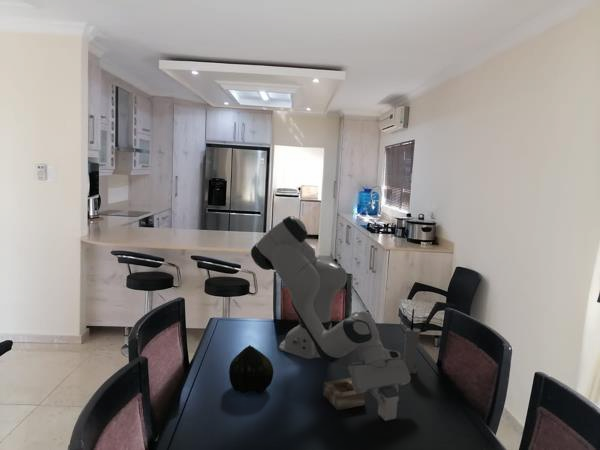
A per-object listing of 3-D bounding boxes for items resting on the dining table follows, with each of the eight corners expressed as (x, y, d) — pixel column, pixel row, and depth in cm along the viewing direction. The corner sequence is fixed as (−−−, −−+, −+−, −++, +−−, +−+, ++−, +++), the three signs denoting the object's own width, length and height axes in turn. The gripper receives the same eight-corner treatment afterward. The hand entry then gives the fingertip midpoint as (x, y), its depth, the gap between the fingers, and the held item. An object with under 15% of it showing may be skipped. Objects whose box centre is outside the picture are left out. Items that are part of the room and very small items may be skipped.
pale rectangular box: (377, 413, 135) (380, 388, 134) (388, 411, 136) (390, 386, 135) (385, 420, 131) (387, 394, 130) (396, 418, 133) (398, 392, 132)
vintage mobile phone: (416, 374, 164) (422, 311, 161) (403, 372, 165) (408, 309, 162) (415, 370, 167) (421, 308, 165) (402, 368, 168) (408, 306, 166)
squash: (259, 391, 134) (271, 345, 142) (216, 383, 138) (230, 339, 146) (271, 403, 145) (281, 359, 153) (231, 396, 149) (243, 354, 158)
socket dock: (323, 394, 144) (324, 382, 144) (348, 390, 148) (349, 378, 148) (337, 410, 135) (338, 396, 135) (364, 405, 139) (365, 391, 139)
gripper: (350, 359, 134) (365, 404, 126) (403, 351, 142) (420, 393, 134) (342, 367, 138) (356, 411, 131) (394, 359, 147) (410, 400, 139)
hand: (389, 402), depth 132 cm, fingers closed on pale rectangular box, 4 cm apart
